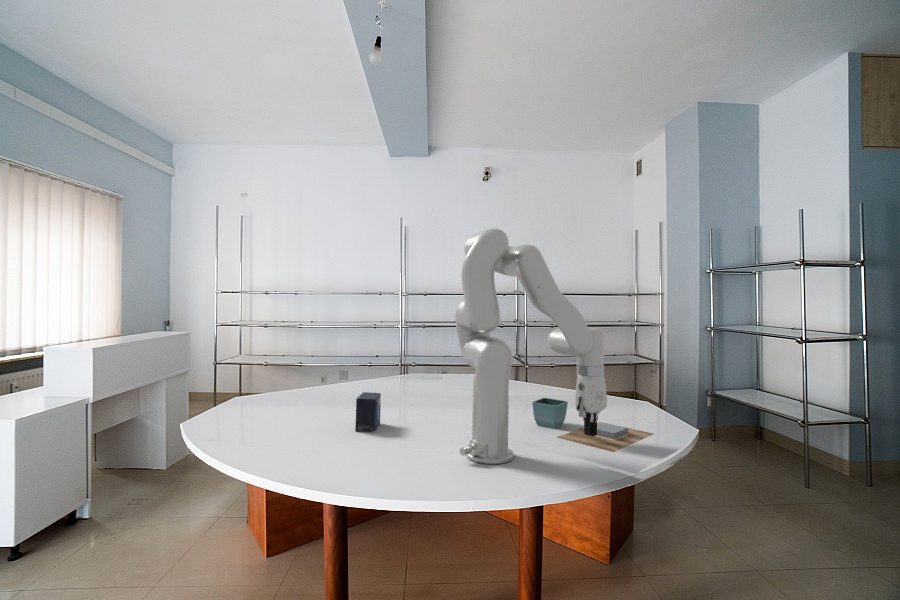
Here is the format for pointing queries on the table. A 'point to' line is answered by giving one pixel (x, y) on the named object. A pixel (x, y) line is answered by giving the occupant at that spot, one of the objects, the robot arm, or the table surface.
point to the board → (605, 439)
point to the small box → (368, 411)
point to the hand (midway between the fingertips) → (590, 434)
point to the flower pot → (549, 412)
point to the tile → (611, 431)
